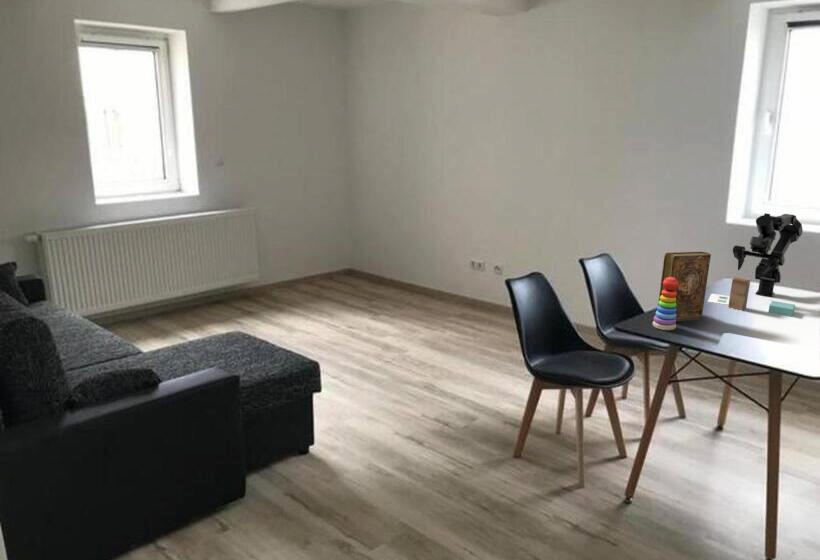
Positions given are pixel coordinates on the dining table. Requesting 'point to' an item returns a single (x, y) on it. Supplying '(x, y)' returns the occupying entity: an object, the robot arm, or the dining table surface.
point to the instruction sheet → (719, 299)
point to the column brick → (739, 293)
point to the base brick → (781, 308)
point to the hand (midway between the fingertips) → (750, 271)
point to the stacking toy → (667, 306)
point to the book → (687, 282)
